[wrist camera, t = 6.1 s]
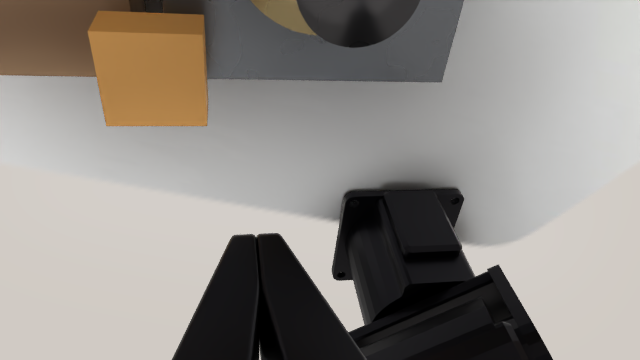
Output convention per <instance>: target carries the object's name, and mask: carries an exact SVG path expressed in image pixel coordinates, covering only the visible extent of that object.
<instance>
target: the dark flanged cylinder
mask: <svg viewBox="0 0 640 360" xmlns="http://www.w3.org/2000/svg"><path fill="white" fill-rule="evenodd" d="M251 1H252V3H253V4H254V5H255V6H256V7H257V8H258V9H259V10H260V11H261V12H262V13H263V14H264V15H266V16H267V17H269V18H270V19H271V20H273V21H274V22H276V23H278V24H280V25H281V26H283V27H285V28H288V29H290V30H293V31H296V32H299V33H304V34H308V35H318V36H319V37H321V38H322V39H324V40H326V41H327V42H329V43H332V44H335V45H338V46H342V47H349V48H359V47H366V46H370V45H374V44H377V43H379V42H381V41H384V40H385V39H387V38H389V37H391V36H392V35H393V34H395V33H396V32H397V31H399V30H400V29H401V28H402V27H403V26H404V25H405V24H406V23H407V21H408V20H409V19H410V18H411V16H412V15H413V13H414V12H415V10H416V8H417V6H418V4H419V2H420V0H251Z"/></svg>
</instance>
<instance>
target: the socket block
mask: <svg viewBox="0 0 640 360" xmlns="http://www.w3.org/2000/svg"><path fill="white" fill-rule="evenodd" d="M463 2H464V0H420V2H419V4H418V6H417V8H416V10H415V12H414V13H413V15H412V16H411V18H410V19H409V20H408V21H407V23H406V24H405V25H404V26H403V27H402V28H401V29H400V30H399V31H397V32H396V33H395V34H393V35H392V36H391V37H389V38H387V39H385V40H384V41H381V42H379V43H377V44H374V45H370V46H366V47H359V48H349V47H342V46H338V45H335V44H332V43H329V42H327V41H326V40H324V39H322V38H321V37H319V36H318V35H308V34H304V33H299V32H296V31H293V30H290V29H288V28H285V27H283V26H281V25H280V24H278V23H276V22H274V21H273V20H271V19H270V18H269V17H267V16H266V15H264V14H263V13H262V12H261V11H260V10H259V9H258V8H257V7H256V6H255V5H254V4H253V3H252V1H251V0H162V5H163V13H173V14H199V15H204V25H205V46H206V66H207V78H208V79H269V80H330V81H391V82H442V79H443V75H444V71H445V68H446V64H447V60H448V57H449V53H450V49H451V46H452V42H453V38H454V35H455V31H456V27H457V24H458V20H459V16H460V13H461V9H462V5H463Z"/></svg>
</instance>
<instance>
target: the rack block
mask: <svg viewBox="0 0 640 360" xmlns="http://www.w3.org/2000/svg"><path fill="white" fill-rule="evenodd" d="M98 11H120V12H146V10H145V2H144V0H0V75H25V76H86V77H97V76H96V71H95V66H94V61H93V56H92V51H91V46H90V41H89V36H88V30H89V28H90V26H91V24H92V22H93V20H94V18H95V16H96V14H97V12H98Z"/></svg>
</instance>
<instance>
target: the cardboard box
mask: <svg viewBox="0 0 640 360" xmlns="http://www.w3.org/2000/svg"><path fill="white" fill-rule="evenodd" d="M88 36H89V41H90V46H91V51H92V56H93V61H94V66H95V71H96V76H97V81H98V86H99V91H100V96H101V101H102V106H103V111H104V116H105V121H106V126H207V118H208V87H207V66H206V46H205V25H204V15H199V14H173V13H147V12H120V11H98V12H97V14H96V16H95V18H94V20H93V22H92V24H91V26H90V28H89V30H88Z"/></svg>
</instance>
